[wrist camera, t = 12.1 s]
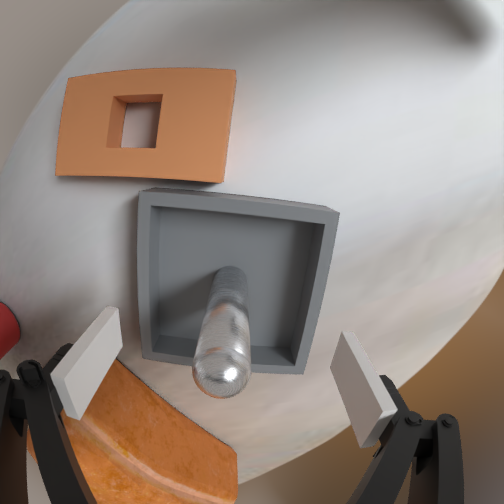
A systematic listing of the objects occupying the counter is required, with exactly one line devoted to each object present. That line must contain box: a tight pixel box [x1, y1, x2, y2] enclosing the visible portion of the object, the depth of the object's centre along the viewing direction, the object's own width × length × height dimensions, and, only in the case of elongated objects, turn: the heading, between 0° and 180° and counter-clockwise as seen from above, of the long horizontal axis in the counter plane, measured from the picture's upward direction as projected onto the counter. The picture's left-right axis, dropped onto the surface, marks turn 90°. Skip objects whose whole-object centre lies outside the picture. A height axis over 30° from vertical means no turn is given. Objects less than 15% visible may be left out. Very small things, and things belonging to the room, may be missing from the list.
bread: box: [27, 358, 238, 504], centre depth 24 cm, size 14×26×16 cm, turn 38°
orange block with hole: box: [55, 68, 236, 183], centre depth 21 cm, size 15×9×3 cm, turn 83°
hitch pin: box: [192, 266, 251, 399], centre depth 19 cm, size 3×3×14 cm
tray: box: [137, 188, 340, 374], centre depth 24 cm, size 15×15×4 cm
